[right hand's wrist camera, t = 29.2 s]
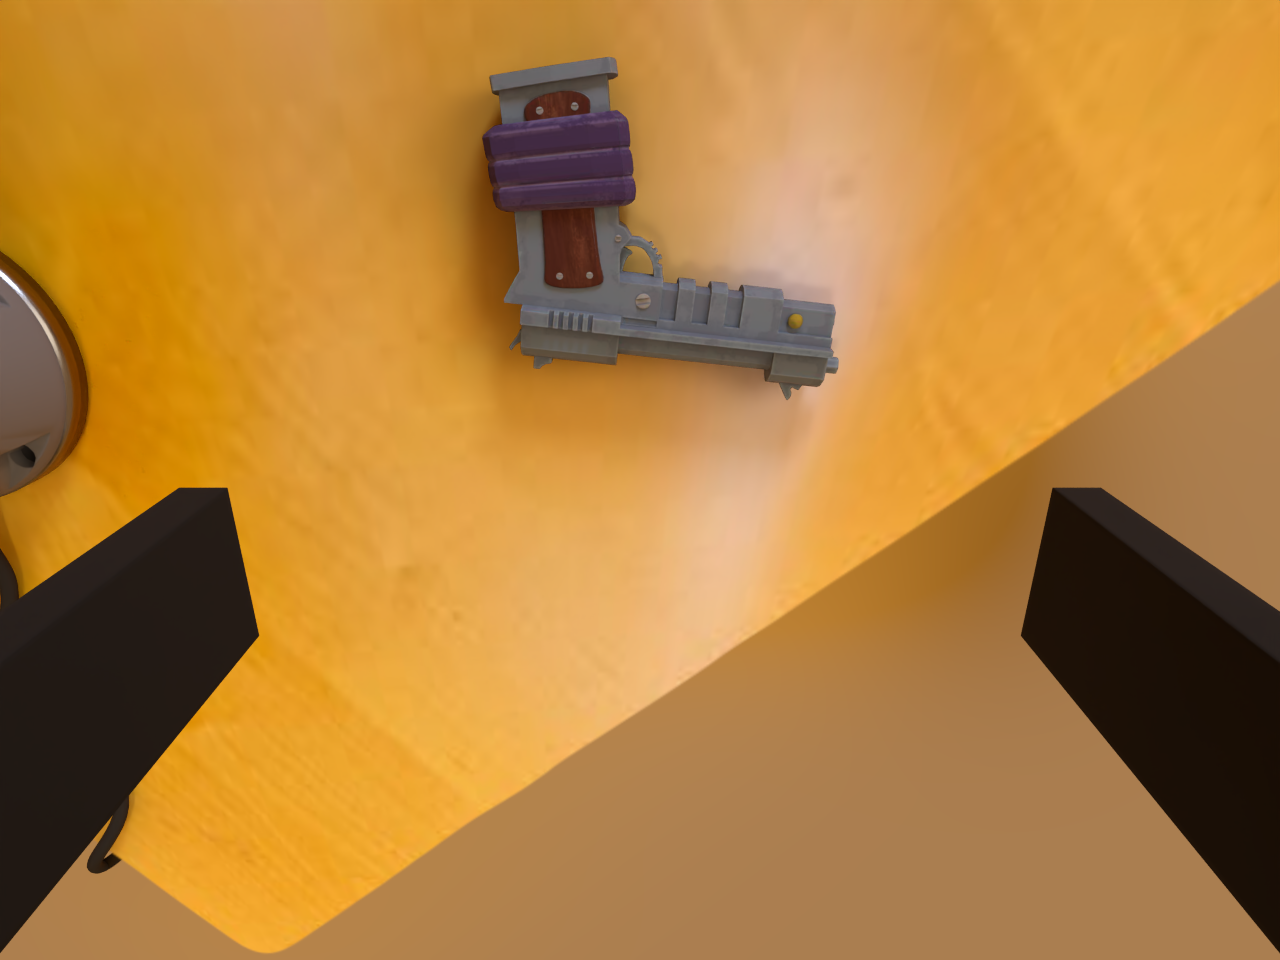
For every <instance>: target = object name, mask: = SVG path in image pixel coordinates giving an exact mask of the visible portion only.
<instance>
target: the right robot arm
mask: <svg viewBox="0 0 1280 960" xmlns="http://www.w3.org/2000/svg"><path fill="white" fill-rule="evenodd" d="M87 408H88V385H87V377H86V371H85V367H84V363H83V359H82V356H81V353H80V350H79V347H78V345H77V343H76V340H75V338H74V336H73V333H72V332H71V330H70V328H69V326H68V324H67V322H66V320H65V319H64V317H63V316H62V314H61V313H60V311H59V310H58V308H57V306H56V305H55V304H54V303H53V301H52V300H51V299H50V297H49V296H48V295H47V293H46V292H45V291H44V290H43V289H42V288H41V287H40V286H39V284H38V283H37V282H36V281H35V280H34V279H33V278H32V277H31V276H30V275H29V274H28V273H27V272H26V271H25V270H23V269H22V268H21V267H20V266H19V265H17V264H16V263H15V262H14V261H13V260H11V259H10V258H9V257H7V256H6V255H5V254H3V253H2V252H0V496H4V495H7V494H9V493H12V492H14V491H17V490H19V489H21V488H22V487H24V486H26V485H28V484H30V483H32V482H34V481H36V480H38V479H40V478H42V477H44V476H45V475H47V474H49V473H50V472H51V471H53V470H54V469H56V468H57V467H58V466H59V465H60V464H61V463H62V462H63V461H64V460H65V459H66V458H67V457H68V456H69V454H70V453H71V452H72V450H73V449H74V447H75V445H76V444H77V442H78V440H79V438H80V436H81V433H82V430H83V427H84V424H85V420H86V415H87ZM0 596H1V604H0V953H1V951H2V950H3V949H4V948H5V947H6V945H7V944H8V943H9V942H10V940H11V939H12V938H13V937H14V935H15V934H16V933H17V932H18V931H19V929H20V928H21V927H22V926H23V924H24V923H25V922H26V921H27V920H28V918H29V917H30V916H31V915H32V913H33V912H34V911H35V910H36V909H37V907H38V906H39V905H40V904H41V902H42V901H43V900H44V899H45V898H46V896H47V895H48V894H49V893H50V891H51V890H52V889H53V888H54V886H55V885H56V884H57V883H58V882H59V880H60V879H61V878H62V877H63V875H64V874H65V873H66V872H67V871H68V869H69V868H70V867H71V866H72V864H73V863H74V862H75V861H76V860H77V858H78V857H79V856H80V855H81V853H82V852H83V851H84V850H85V848H86V847H87V846H88V845H89V844H90V842H91V841H92V840H93V839H94V837H95V836H96V835H97V834H98V833H99V831H100V830H101V829H102V828H103V826H104V825H105V824H106V823H107V822H108V820H109V819H110V818H111V817H112V819H111V821H110V824H109V826H108V828H107V830H106V831H105V833H104V835H103V836H102V838H101V840H100V841H99V843H98V844H97V846H96V847H95V849H94V850H93V852H92V853H91V855H90V857H89V859H88V863H87V868H88V870H89V871H90V872H91V873H102V872H104V871H107V870H108V869H110V868H112V867H113V866H115V865H116V864H117V863H119V862H120V861H121V860H122V859H121V858H119V857H118V856H116V855H115V854H114V853H111V854H110V855H109V856H107V857H106V858H104V857H105V856H106V854H107V853H108V851H109V850H110V848H111V847H112V845H113V844H114V842H115V840H116V839H117V837H118V835H119V834H120V832H121V830H122V828H123V826H124V823H125V820H126V818H127V814H128V808H129V795H130V793H131V792H132V791H133V790H134V788H135V787H136V786H137V785H138V784H139V782H140V781H141V780H142V779H143V777H144V776H145V775H146V774H147V772H148V771H149V770H150V769H151V768H152V766H153V765H154V764H155V763H156V761H157V760H158V759H159V758H160V757H161V755H162V754H163V753H164V752H165V750H166V749H167V748H168V747H169V746H170V744H171V743H172V742H173V741H174V739H175V738H176V737H177V736H178V734H179V733H180V732H181V731H182V730H183V728H184V727H185V726H186V725H187V723H188V722H189V721H190V720H191V719H192V717H193V716H194V715H195V714H196V712H197V711H198V710H199V709H200V708H201V706H202V705H203V704H204V703H205V701H206V700H207V699H208V698H209V696H210V695H211V694H212V693H213V692H214V690H215V689H216V688H217V687H218V685H219V684H220V683H221V682H222V681H223V679H224V678H225V677H226V676H227V674H228V673H229V672H230V671H231V670H232V668H233V667H234V666H235V665H236V663H237V662H238V661H239V660H240V658H241V657H242V656H243V655H244V654H245V652H246V651H247V650H248V649H249V647H250V646H251V645H252V644H253V643H254V641H255V640H256V639H257V638H258V636H259V633H258V628H257V623H256V619H255V614H254V609H253V605H252V600H251V595H250V591H249V586H248V582H247V577H246V572H245V568H244V563H243V558H242V554H241V549H240V544H239V540H238V535H237V530H236V526H235V521H234V516H233V512H232V507H231V502H230V498H229V493H228V488H178V489H177V490H175V491H174V492H172V493H171V494H169V495H168V496H167V497H165V498H164V499H162V500H161V501H159V502H158V503H156V504H155V505H154V506H152V507H151V508H149V509H148V510H146V511H145V512H143V513H142V514H141V515H139V516H138V517H136V518H135V519H133V520H132V521H130V522H129V523H128V524H126V525H125V526H123V527H122V528H120V529H119V530H117V531H116V532H115V533H113V534H112V535H110V536H109V537H107V538H106V539H104V540H103V541H102V542H100V543H99V544H97V545H96V546H94V547H93V548H91V549H90V550H89V551H87V552H86V553H84V554H83V555H81V556H80V557H78V558H77V559H76V560H74V561H73V562H71V563H70V564H68V565H67V566H65V567H64V568H63V569H61V570H60V571H58V572H57V573H55V574H54V575H52V576H51V577H50V578H48V579H47V580H45V581H44V582H42V583H41V584H39V585H38V586H37V587H35V588H34V589H32V590H31V591H29V592H28V593H26V594H25V595H24V596H22V597H21V598H19V592H18V584H17V579H16V576H15V574H14V571H13V569H12V567H11V565H10V563H9V562H8V560H7V558H6V557H5V555H4V554H3V552H2V550H1V549H0ZM1021 636H1022V638H1023V639H1024V640H1025V641H1026V643H1027V644H1028V645H1029V646H1030V647H1031V649H1032V650H1033V651H1034V652H1035V654H1036V655H1037V656H1038V657H1039V658H1040V660H1041V661H1042V662H1043V663H1044V665H1045V666H1046V667H1047V668H1048V670H1049V671H1050V672H1051V673H1052V674H1053V676H1054V677H1055V678H1056V679H1057V681H1058V682H1059V683H1060V684H1061V685H1062V687H1063V688H1064V689H1065V690H1066V692H1067V693H1068V694H1069V695H1070V696H1071V698H1072V699H1073V700H1074V701H1075V703H1076V704H1077V705H1078V706H1079V708H1080V709H1081V710H1082V711H1083V712H1084V714H1085V715H1086V716H1087V717H1088V718H1089V720H1090V721H1091V722H1092V723H1093V725H1094V726H1095V727H1096V728H1097V730H1098V731H1099V732H1100V733H1101V734H1102V736H1103V737H1104V738H1105V739H1106V741H1107V742H1108V743H1109V744H1110V746H1111V747H1112V748H1113V749H1114V750H1115V752H1116V753H1117V754H1118V755H1119V757H1120V758H1121V759H1122V760H1123V761H1124V763H1125V764H1126V765H1127V766H1128V768H1129V769H1130V770H1131V771H1132V772H1133V774H1134V775H1135V776H1136V777H1137V779H1138V780H1139V781H1140V782H1141V784H1142V785H1143V786H1144V787H1145V788H1146V790H1147V791H1148V792H1149V793H1150V794H1151V796H1152V797H1153V798H1154V799H1155V801H1156V802H1157V803H1158V804H1159V806H1160V807H1161V808H1162V809H1163V810H1164V812H1165V813H1166V814H1167V815H1168V817H1169V818H1170V819H1171V820H1172V822H1173V823H1174V824H1175V825H1176V826H1177V828H1178V829H1179V830H1180V831H1181V833H1182V834H1183V835H1184V836H1185V837H1186V839H1187V840H1188V841H1189V842H1190V844H1191V845H1192V846H1193V847H1194V848H1195V850H1196V851H1197V852H1198V853H1199V855H1200V856H1201V857H1202V858H1203V859H1204V861H1205V862H1206V863H1207V864H1208V866H1209V867H1210V868H1211V869H1212V871H1213V872H1214V873H1215V874H1216V875H1217V877H1218V878H1219V879H1220V880H1221V882H1222V883H1223V884H1224V885H1225V886H1226V888H1227V889H1228V890H1229V891H1230V893H1231V894H1232V895H1233V896H1234V897H1235V899H1236V900H1237V901H1238V902H1239V904H1240V905H1241V906H1242V907H1243V909H1244V910H1245V911H1246V912H1247V913H1248V915H1249V916H1250V917H1251V918H1252V920H1253V921H1254V922H1255V923H1256V924H1257V926H1258V927H1259V928H1260V929H1261V931H1262V932H1263V933H1264V934H1265V936H1266V937H1267V938H1268V939H1269V940H1270V942H1271V943H1272V944H1273V945H1274V947H1275V948H1276V949H1277V950H1278V951H1279V953H1280V611H1278V610H1277V609H1275V608H1274V607H1272V606H1271V605H1269V604H1268V603H1267V602H1265V601H1264V600H1262V599H1261V598H1259V597H1258V596H1256V595H1255V594H1254V593H1252V592H1251V591H1249V590H1248V589H1246V588H1245V587H1243V586H1242V585H1241V584H1239V583H1238V582H1236V581H1235V580H1233V579H1232V578H1230V577H1229V576H1228V575H1226V574H1225V573H1223V572H1222V571H1220V570H1219V569H1217V568H1216V567H1215V566H1213V565H1212V564H1210V563H1209V562H1207V561H1206V560H1204V559H1203V558H1202V557H1200V556H1199V555H1197V554H1196V553H1194V552H1193V551H1191V550H1190V549H1189V548H1187V547H1186V546H1184V545H1183V544H1181V543H1180V542H1178V541H1177V540H1176V539H1174V538H1173V537H1171V536H1170V535H1168V534H1167V533H1165V532H1164V531H1163V530H1161V529H1160V528H1158V527H1157V526H1155V525H1154V524H1152V523H1151V522H1150V521H1148V520H1147V519H1145V518H1144V517H1142V516H1141V515H1139V514H1138V513H1137V512H1135V511H1134V510H1132V509H1131V508H1129V507H1128V506H1126V505H1125V504H1124V503H1122V502H1121V501H1119V500H1118V499H1116V498H1115V497H1113V496H1112V495H1110V494H1109V493H1108V492H1106V491H1105V490H1103V489H1102V488H1053V489H1052V493H1051V498H1050V503H1049V507H1048V512H1047V516H1046V521H1045V526H1044V530H1043V535H1042V540H1041V544H1040V549H1039V554H1038V558H1037V563H1036V568H1035V572H1034V577H1033V582H1032V586H1031V591H1030V595H1029V600H1028V605H1027V609H1026V614H1025V619H1024V623H1023V628H1022V633H1021ZM112 815H113V816H112Z"/></svg>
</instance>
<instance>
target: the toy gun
mask: <svg viewBox="0 0 1280 960" xmlns="http://www.w3.org/2000/svg"><path fill="white" fill-rule="evenodd" d="M617 76H618V71H617V64H616V59H615V58H611V57H605V58H598V59H592V60H585V61H578V62H572V63H565V64H558V65H552V66H545V67H539V68H533V69H527V70H521V71H515V72H509V73H503V74H497V75H491V76H490V84H491V89H492V93H493V94H495V95H499V99H500V108H501V117H502V125H496V126H493V127H492V128H491V129H490V130H488V131H487V132H486V133H485V134H484V135H483V138H482V139H483V144H484V150H485V154H486V158H487V160H488V161H489V164H488V171H489V177H490V181H491V184H492V186H493V187H494V189H493V199H494V202H495V205H496V207H497V208H499V209H500V210H502V211H506V212H514V213H515V223H516V233H517V245H518V256H519V268H520V271H519V273H518V274H517V276H516V277H515V279H514V281H513V283H512V285H511V287H510V288H509V290H508V292H507V294H506V296H505V298H504V302H505V303H514V304H523V305H522V308H521V316H520V324H521V325H522V329H520V331H519V333H518V335H517V337H516V338H515V339H514V341H513V342H512V344H511V345H510V349H511V350H512V349H513V347H514V346H515V345H516V344H517V343H519V342H520V341H521V352H522V355H527V356H534V368H536V369H540V368H541V367H542V366H543V365H545V364H549V363H552V359H553V358H555V359H564V360H573V361H583V362H592V363H601V364H610V365H616V362H617V353H619V354H628V355H637V356H646V357H656V358H665V359H674V360H683V361H693V362H702V363H711V364H720V365H729V366H739V367H748V368H757V369H764V378H765V381H767V382H776V383H779V384H780V387H781V389H782V391H783V394H784V396H785V398H786V400H788V399H789V398H790V396H791V391H790V389H791V388H792V387H793V388H795V389H797V390H799V388H800V387H801V386H802V385H804V386H813V387H818V386H820V385H821V383H822V382H823V380H824V377H825V373H833V374H835V373H836V372H837V369H838V362H839V360H838V358H837V357H833V351H832V349H831V343H832V338H831V334H832V329H833V325H834V319H835V314H836V311H835V307H834V305H831V304H822V303H814V302H805V301H796V300H787V299H784V298H783V292H782V290H781V289H774V288H765V287H756V286H747V285H741V286H740V288H739V291H734V290H728V285H727V283H721V282H712V281H710V282H709V285H708V287H699V286H696V282H695V279H686V278H678V281H677V284H673V283H664V282H663V276H662V265H660V264H659V263H658V261H659V259H662V257H661V254H660V255H657V254H656V252H658V250H657V248H654V249H653V248H652V247H651V246H653V243H652V241H651V242H648V241H646V240H645V239H643V238H642V237H639V236H631V233H630V231H629V229H628V228H627V226H626V225H625V224H623V223H622V222H620V221H619V206H626V205H628V204H630V203H632V202H633V201H634V199H635V195H636V187H635V181H634V179H633V178H632V174H633V160H632V154H631V152H630V150H629V146H630V133H629V124H628V120H627V118H626V117H625V116H624V115H622V114H621V113H620V112H619V111H617V110H616V111H610V99H609V84H608V80H610V79H614V78H616V77H617ZM624 246H638V247H641V248H643V249H644V250H645V251H646V252H647V254H648V255H649V257H650V259H651V261H652V264H653V275H651V274H642V273H633V272H624V271H623V266H624V263H625V260H626V259H627V257H628V256H629V255H630V254H632V251H631V250H629V249H627V248H625V247H624Z"/></svg>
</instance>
